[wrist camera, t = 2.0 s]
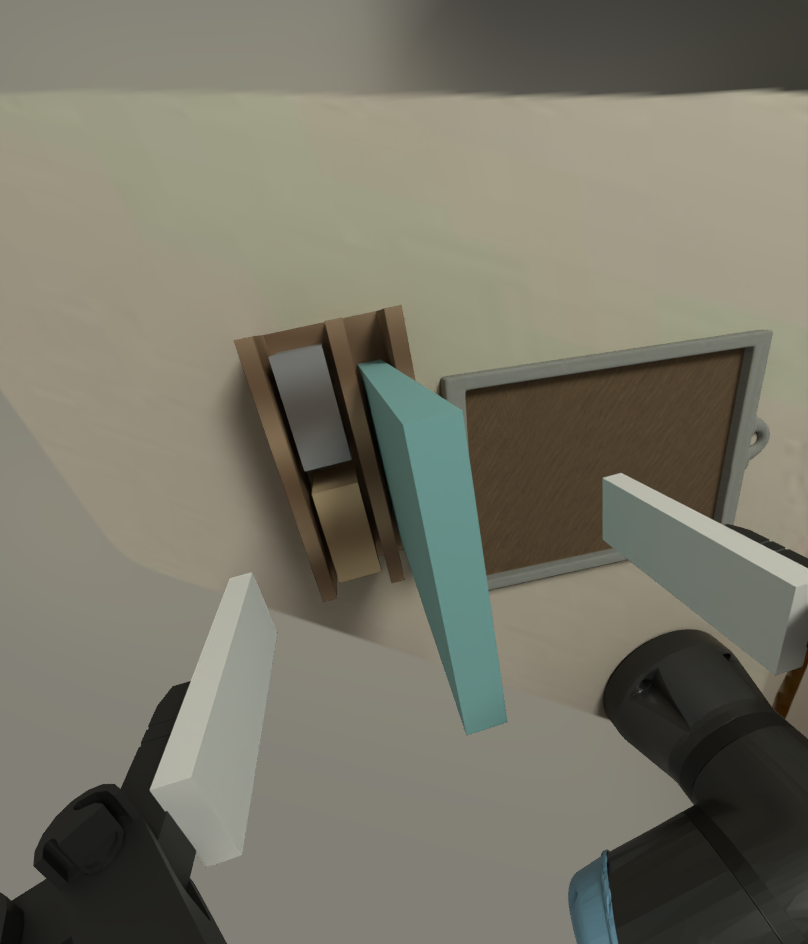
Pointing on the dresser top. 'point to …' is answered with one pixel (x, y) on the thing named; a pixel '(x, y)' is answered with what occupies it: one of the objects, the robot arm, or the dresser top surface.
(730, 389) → the framed cork board
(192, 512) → the dresser top surface
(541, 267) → the dresser top surface
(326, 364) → the offcut charcoal
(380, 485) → the rack
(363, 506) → the offcut oak
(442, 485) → the teal rectangular slab
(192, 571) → the dresser top surface
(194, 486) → the dresser top surface
